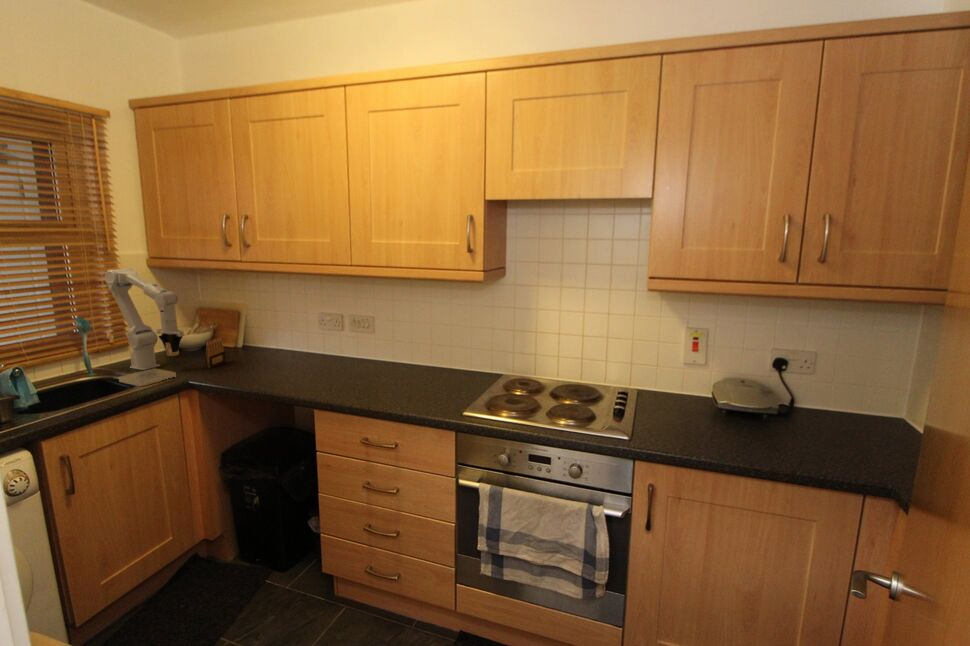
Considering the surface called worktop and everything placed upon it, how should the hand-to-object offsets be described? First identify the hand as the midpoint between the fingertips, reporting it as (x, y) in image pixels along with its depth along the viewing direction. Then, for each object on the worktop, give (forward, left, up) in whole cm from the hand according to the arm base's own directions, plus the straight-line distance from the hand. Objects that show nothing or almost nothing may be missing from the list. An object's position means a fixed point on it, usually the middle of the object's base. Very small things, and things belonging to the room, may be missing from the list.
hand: (172, 351), depth 214 cm
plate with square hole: (+3, -13, -8) cm, 16 cm away
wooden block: (0, 0, -2) cm, 2 cm away
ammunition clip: (+8, +14, -9) cm, 18 cm away
